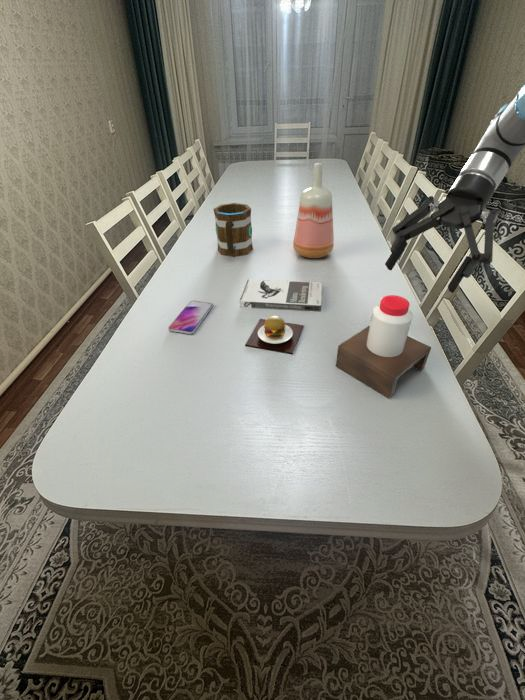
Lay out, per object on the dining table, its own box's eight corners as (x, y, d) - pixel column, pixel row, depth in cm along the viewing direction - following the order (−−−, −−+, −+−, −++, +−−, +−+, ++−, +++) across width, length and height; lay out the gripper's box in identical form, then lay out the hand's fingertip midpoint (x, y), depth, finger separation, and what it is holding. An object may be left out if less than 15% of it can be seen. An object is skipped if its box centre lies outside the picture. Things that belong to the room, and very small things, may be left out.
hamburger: (303, 326, 94) (304, 308, 91) (292, 354, 85) (293, 335, 82) (260, 320, 97) (259, 302, 94) (245, 346, 89) (244, 327, 85)
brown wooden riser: (424, 368, 80) (431, 347, 77) (389, 399, 73) (395, 377, 70) (371, 340, 89) (376, 320, 85) (335, 366, 82) (338, 345, 78)
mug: (220, 242, 142) (216, 203, 132) (254, 242, 141) (252, 202, 131) (212, 264, 126) (207, 221, 117) (250, 264, 125) (248, 220, 116)
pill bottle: (390, 362, 73) (401, 317, 66) (359, 345, 78) (366, 301, 71) (410, 346, 77) (423, 302, 70) (379, 331, 82) (389, 288, 75)
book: (321, 287, 111) (322, 282, 109) (320, 311, 100) (321, 305, 99) (248, 284, 114) (248, 278, 112) (240, 307, 103) (239, 301, 102)
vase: (287, 248, 135) (289, 161, 117) (322, 243, 138) (329, 157, 120) (302, 264, 124) (306, 170, 106) (339, 258, 127) (350, 166, 109)
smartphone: (213, 303, 103) (192, 332, 92) (214, 305, 104) (192, 335, 93) (190, 299, 105) (166, 328, 94) (191, 302, 105) (167, 331, 94)
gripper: (546, 208, 66) (482, 307, 68) (421, 184, 81) (371, 266, 83) (550, 183, 60) (479, 292, 62) (414, 162, 75) (360, 251, 77)
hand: (417, 278), depth 72 cm, fingers open, 13 cm apart
